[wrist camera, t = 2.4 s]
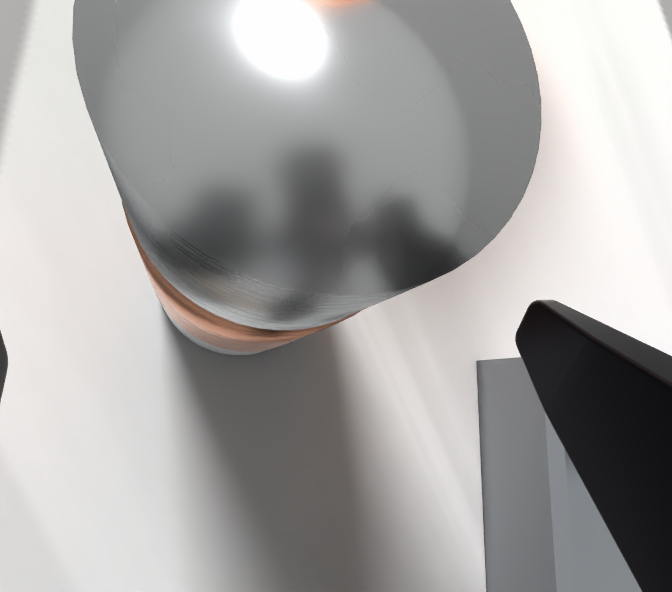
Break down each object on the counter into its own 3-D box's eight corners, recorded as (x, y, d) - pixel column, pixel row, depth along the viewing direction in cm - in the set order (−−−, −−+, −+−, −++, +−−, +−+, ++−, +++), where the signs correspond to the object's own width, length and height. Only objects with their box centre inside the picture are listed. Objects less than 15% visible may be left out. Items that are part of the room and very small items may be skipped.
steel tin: (317, 358, 19) (559, 311, 6) (148, 354, 17) (34, 282, 5) (319, 207, 20) (530, -81, 7) (160, 189, 18) (96, -219, 6)
